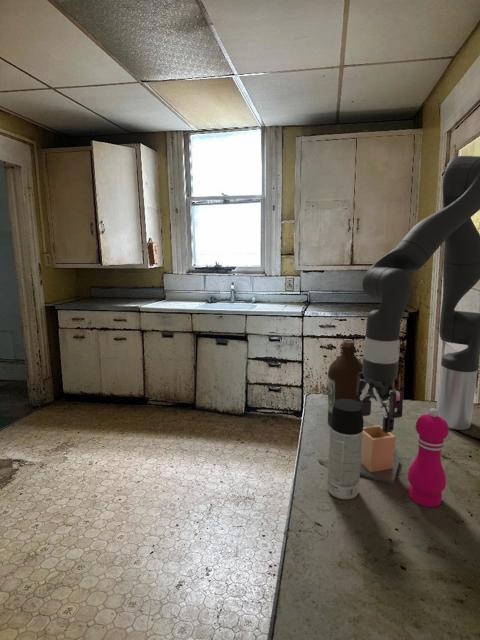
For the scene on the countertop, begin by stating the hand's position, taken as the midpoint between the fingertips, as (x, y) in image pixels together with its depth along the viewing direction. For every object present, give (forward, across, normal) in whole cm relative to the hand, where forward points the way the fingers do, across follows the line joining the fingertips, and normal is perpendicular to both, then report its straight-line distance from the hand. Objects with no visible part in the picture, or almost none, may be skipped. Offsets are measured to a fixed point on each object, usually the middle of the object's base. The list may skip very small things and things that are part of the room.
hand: (375, 423), depth 93 cm
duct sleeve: (+10, -1, 0) cm, 10 cm away
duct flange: (+11, -1, 0) cm, 11 cm away
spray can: (+11, -7, +12) cm, 18 cm away
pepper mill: (+11, -13, -4) cm, 18 cm away
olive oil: (+12, +21, -4) cm, 25 cm away
